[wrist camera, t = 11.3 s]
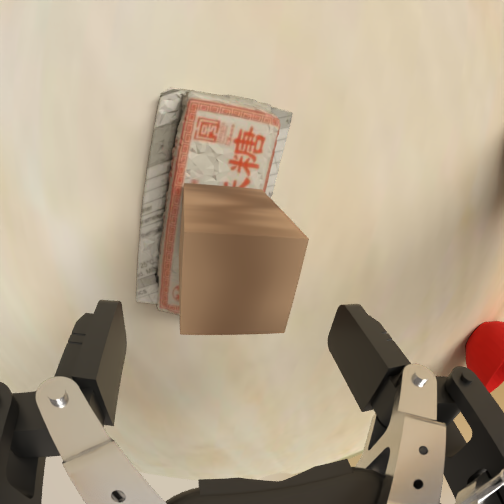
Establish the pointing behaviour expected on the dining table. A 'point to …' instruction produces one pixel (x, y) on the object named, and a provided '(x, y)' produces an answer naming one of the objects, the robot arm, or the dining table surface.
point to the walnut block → (236, 262)
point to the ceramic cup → (487, 353)
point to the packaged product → (199, 172)
